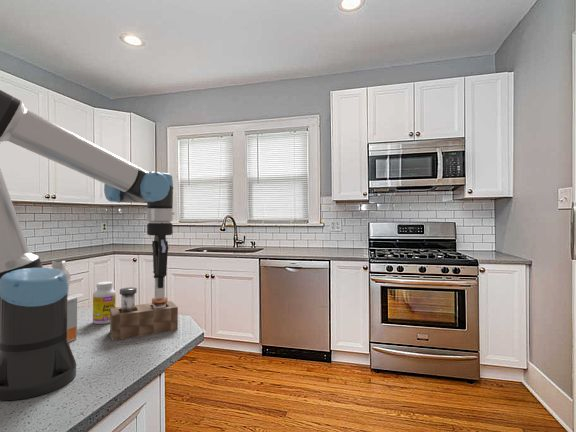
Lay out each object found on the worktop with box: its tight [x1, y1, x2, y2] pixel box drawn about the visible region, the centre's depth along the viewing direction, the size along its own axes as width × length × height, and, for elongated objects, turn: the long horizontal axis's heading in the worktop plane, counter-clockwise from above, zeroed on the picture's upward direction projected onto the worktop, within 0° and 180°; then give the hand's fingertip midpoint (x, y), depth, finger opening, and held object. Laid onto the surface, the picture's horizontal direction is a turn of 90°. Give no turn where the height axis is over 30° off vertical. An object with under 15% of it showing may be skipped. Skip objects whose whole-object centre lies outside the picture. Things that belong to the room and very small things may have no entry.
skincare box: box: [67, 296, 78, 343], centre depth 96 cm, size 6×4×12 cm
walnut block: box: [109, 300, 179, 341], centre depth 106 cm, size 18×9×7 cm, turn 121°
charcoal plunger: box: [119, 287, 138, 313], centre depth 103 cm, size 5×5×9 cm
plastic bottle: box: [51, 259, 71, 297], centre depth 113 cm, size 6×7×20 cm
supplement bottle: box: [92, 281, 117, 325], centre depth 114 cm, size 7×7×13 cm
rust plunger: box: [151, 296, 168, 309], centre depth 108 cm, size 5×5×9 cm
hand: (159, 297), depth 108 cm, fingers closed
